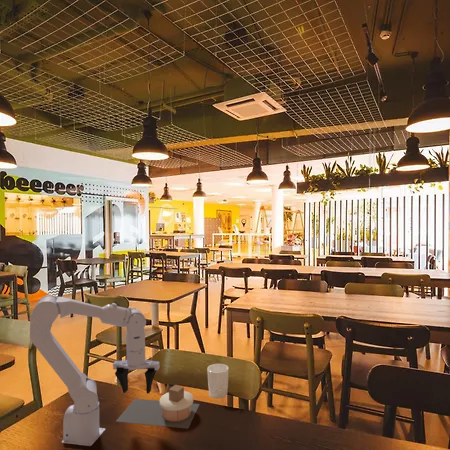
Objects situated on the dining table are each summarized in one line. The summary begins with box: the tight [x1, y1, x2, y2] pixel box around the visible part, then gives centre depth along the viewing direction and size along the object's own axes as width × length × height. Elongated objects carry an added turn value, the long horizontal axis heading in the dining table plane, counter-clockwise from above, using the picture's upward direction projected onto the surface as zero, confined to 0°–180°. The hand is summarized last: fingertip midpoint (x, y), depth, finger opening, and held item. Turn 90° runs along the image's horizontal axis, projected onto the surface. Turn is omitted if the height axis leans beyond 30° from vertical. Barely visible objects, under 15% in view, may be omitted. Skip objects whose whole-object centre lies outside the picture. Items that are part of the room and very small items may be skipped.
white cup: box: [206, 363, 230, 399], centre depth 121 cm, size 8×8×10 cm
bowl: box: [162, 406, 191, 422], centre depth 109 cm, size 9×9×4 cm
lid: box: [159, 384, 194, 411], centre depth 109 cm, size 11×11×4 cm
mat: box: [115, 398, 201, 430], centre depth 110 cm, size 24×14×1 cm, turn 80°
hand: (137, 391), depth 104 cm, fingers open, 7 cm apart
